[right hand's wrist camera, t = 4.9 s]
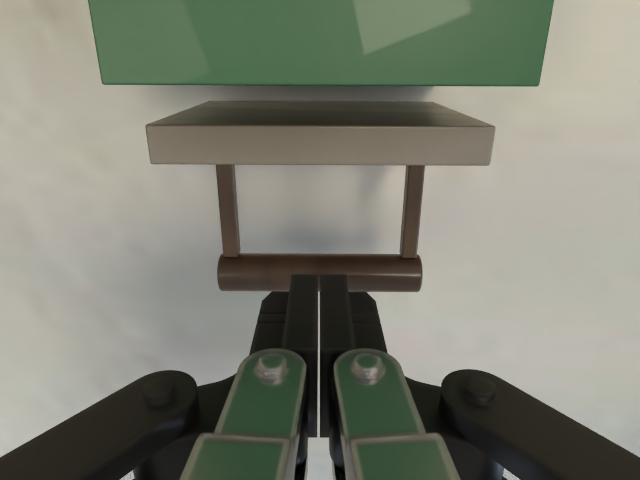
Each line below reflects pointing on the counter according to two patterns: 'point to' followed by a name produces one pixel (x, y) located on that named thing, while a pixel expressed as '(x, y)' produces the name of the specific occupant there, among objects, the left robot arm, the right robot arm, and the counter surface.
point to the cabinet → (321, 42)
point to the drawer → (320, 149)
